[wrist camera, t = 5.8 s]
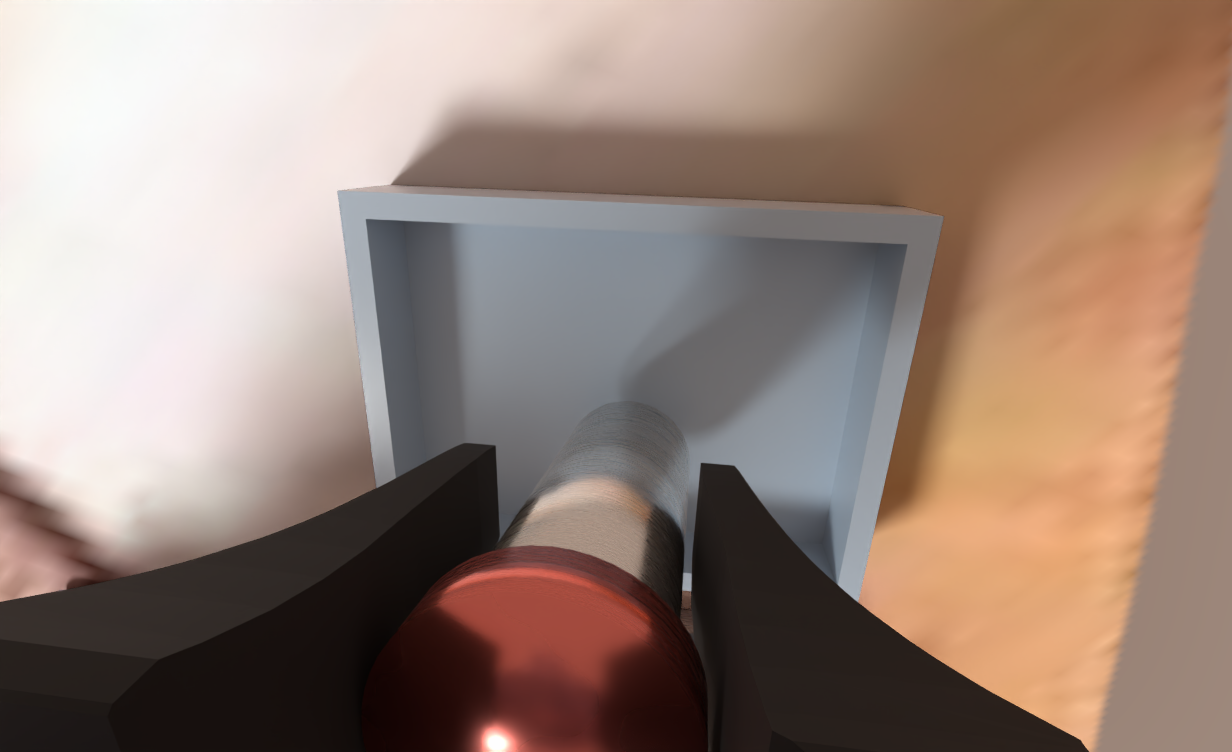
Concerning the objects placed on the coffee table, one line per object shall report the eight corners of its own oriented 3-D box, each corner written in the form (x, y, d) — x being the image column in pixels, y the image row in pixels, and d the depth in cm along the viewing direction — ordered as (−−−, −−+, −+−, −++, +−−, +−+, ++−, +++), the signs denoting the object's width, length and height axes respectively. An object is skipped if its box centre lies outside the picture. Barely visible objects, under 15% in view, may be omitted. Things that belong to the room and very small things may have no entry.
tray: (421, 510, 19) (385, 559, 17) (389, 184, 16) (337, 191, 13) (834, 550, 18) (856, 608, 16) (903, 206, 15) (943, 216, 12)
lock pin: (551, 523, 16) (372, 860, 7) (553, 380, 15) (349, 572, 6) (700, 538, 16) (695, 920, 7) (711, 391, 15) (722, 617, 6)
